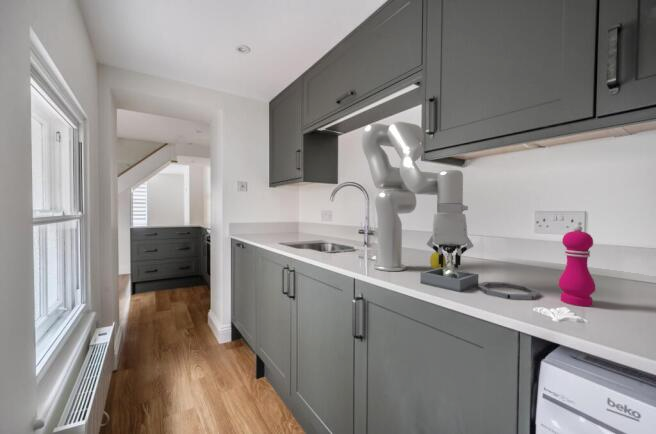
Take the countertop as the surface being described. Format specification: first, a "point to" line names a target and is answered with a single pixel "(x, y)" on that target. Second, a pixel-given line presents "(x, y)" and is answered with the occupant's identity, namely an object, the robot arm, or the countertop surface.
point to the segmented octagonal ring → (483, 288)
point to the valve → (450, 261)
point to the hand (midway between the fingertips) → (449, 266)
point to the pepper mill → (577, 269)
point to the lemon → (436, 261)
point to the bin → (449, 280)
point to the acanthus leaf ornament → (560, 314)
